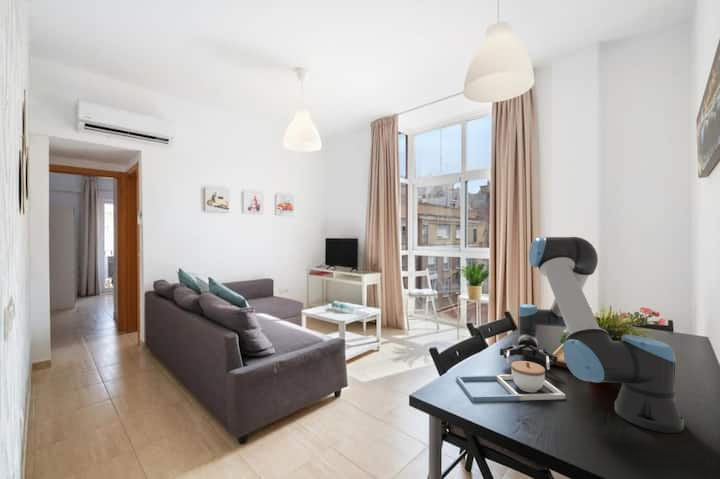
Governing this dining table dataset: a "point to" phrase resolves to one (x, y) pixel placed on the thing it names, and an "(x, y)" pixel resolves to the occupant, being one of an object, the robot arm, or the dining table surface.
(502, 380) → the white square frame
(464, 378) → the blue bezel
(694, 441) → the dining table surface
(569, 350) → the robot arm
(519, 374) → the lidded jar
